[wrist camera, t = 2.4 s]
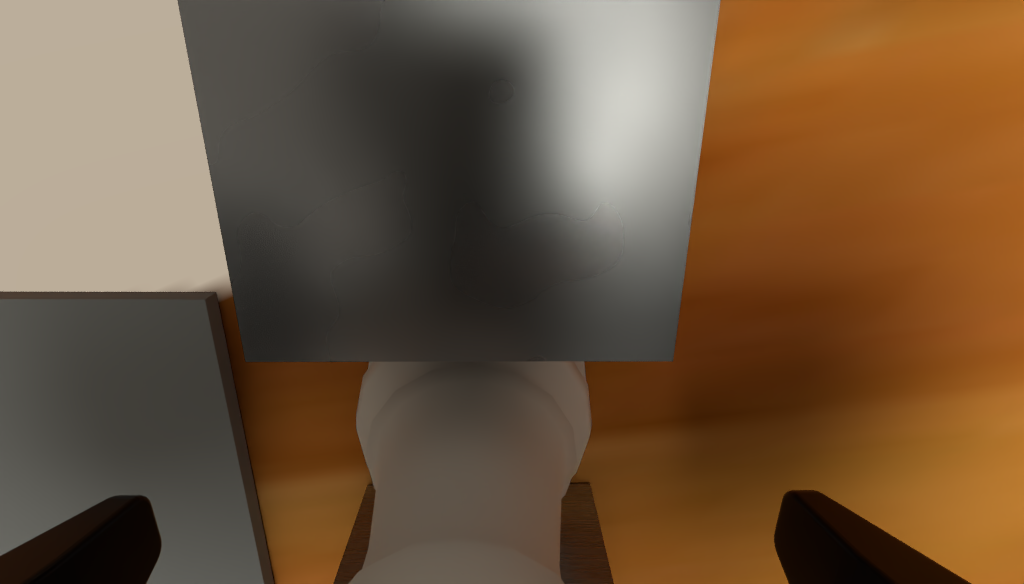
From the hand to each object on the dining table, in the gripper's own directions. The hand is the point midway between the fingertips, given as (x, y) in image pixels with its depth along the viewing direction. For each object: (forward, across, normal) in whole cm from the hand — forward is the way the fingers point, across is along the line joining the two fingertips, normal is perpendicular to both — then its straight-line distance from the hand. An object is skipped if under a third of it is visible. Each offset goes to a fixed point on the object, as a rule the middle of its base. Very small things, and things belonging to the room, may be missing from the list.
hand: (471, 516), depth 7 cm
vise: (+4, 0, 0) cm, 4 cm away
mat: (+4, +9, +2) cm, 10 cm away
